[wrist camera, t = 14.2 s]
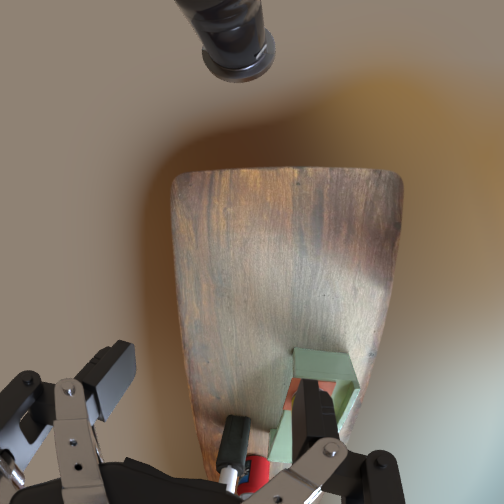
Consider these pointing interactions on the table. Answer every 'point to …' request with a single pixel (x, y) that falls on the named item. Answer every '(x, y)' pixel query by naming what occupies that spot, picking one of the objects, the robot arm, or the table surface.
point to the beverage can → (253, 476)
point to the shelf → (329, 379)
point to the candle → (233, 450)
